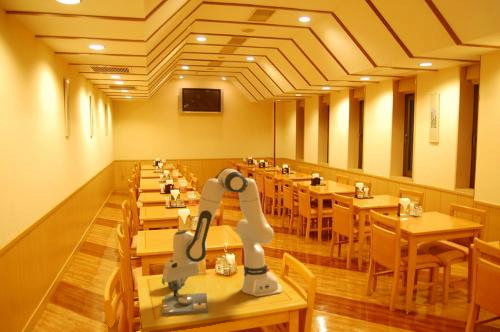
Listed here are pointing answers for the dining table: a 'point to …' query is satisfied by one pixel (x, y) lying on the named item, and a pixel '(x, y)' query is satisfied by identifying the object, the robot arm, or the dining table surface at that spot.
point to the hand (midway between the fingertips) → (181, 286)
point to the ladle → (182, 296)
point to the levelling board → (197, 305)
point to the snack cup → (171, 283)
